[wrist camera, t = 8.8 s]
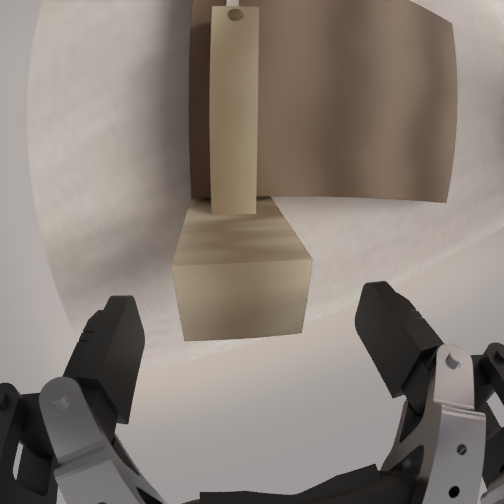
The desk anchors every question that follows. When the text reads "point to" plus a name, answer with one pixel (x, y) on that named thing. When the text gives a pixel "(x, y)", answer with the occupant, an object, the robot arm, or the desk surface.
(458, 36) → the desk surface
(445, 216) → the desk surface
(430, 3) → the desk surface
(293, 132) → the walnut board
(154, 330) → the desk surface
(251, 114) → the marking gauge
